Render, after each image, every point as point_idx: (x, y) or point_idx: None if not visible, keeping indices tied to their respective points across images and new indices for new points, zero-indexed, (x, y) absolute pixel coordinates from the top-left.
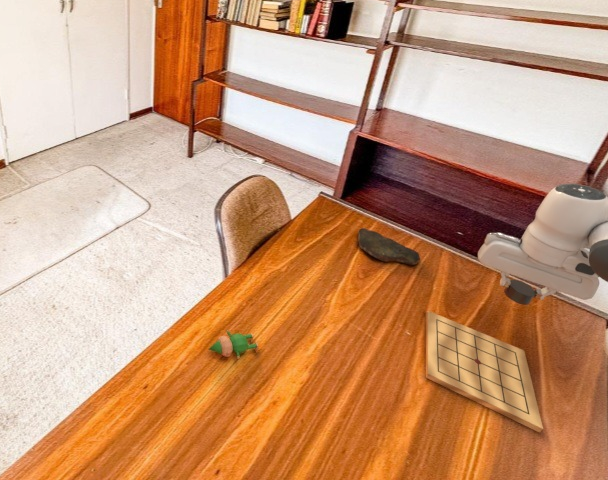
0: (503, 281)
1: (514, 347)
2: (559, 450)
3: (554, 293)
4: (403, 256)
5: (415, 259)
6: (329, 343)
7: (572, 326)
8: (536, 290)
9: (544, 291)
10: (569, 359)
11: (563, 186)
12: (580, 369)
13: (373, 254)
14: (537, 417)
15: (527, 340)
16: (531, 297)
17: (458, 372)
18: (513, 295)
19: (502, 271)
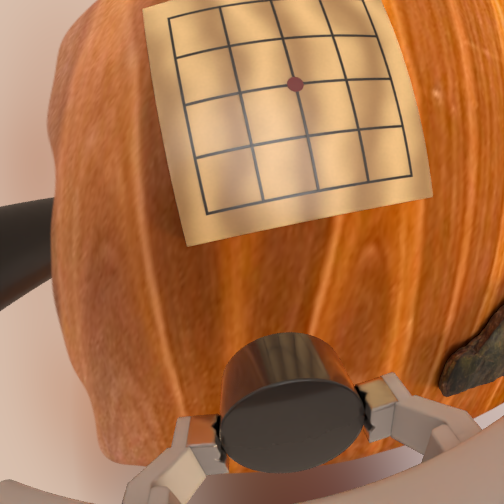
0: (407, 393)
1: (211, 235)
2: (117, 13)
3: (131, 480)
4: (478, 354)
5: (457, 368)
6: (488, 2)
7: (126, 424)
8: (222, 459)
9: (184, 472)
10: (103, 321)
11: None
12: (82, 304)
13: None
14: (151, 25)
15: (185, 315)
16: (234, 396)
17: (327, 17)
18: (319, 354)
19: (480, 428)
